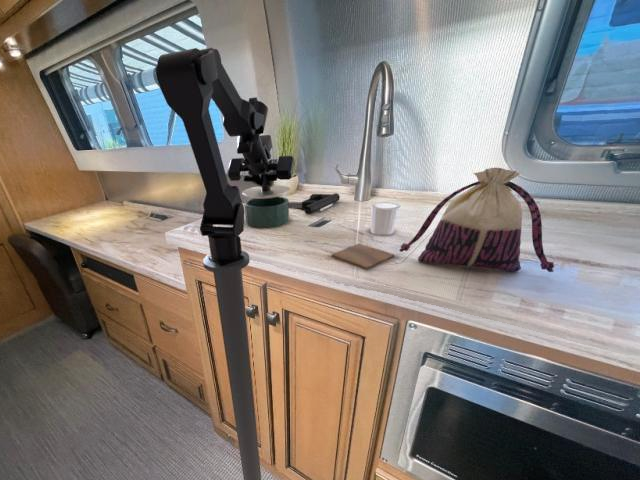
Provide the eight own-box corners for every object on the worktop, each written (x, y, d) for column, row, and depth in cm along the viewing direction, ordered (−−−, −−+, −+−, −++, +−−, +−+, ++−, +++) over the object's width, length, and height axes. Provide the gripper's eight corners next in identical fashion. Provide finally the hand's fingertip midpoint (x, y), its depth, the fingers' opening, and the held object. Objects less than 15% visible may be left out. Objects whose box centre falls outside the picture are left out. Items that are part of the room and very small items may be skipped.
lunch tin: (263, 231, 91) (262, 210, 88) (238, 222, 102) (236, 202, 98) (297, 220, 97) (297, 200, 94) (270, 213, 107) (270, 194, 104)
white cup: (394, 227, 85) (399, 201, 81) (396, 236, 79) (401, 209, 76) (368, 227, 87) (371, 201, 83) (368, 235, 81) (371, 208, 78)
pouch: (396, 267, 65) (414, 170, 55) (398, 252, 71) (415, 162, 61) (553, 284, 54) (610, 168, 44) (540, 265, 60) (588, 159, 50)
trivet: (366, 269, 65) (366, 267, 65) (331, 256, 72) (331, 254, 72) (394, 256, 69) (394, 254, 69) (358, 245, 76) (359, 243, 76)
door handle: (274, 204, 108) (314, 206, 98) (305, 191, 120) (344, 192, 110) (274, 213, 110) (314, 216, 99) (305, 200, 122) (343, 202, 111)
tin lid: (261, 202, 86) (260, 179, 83) (233, 195, 97) (231, 175, 94) (300, 192, 93) (300, 170, 90) (270, 187, 104) (269, 167, 100)
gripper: (293, 121, 79) (301, 161, 93) (226, 127, 86) (244, 164, 100) (285, 159, 77) (295, 194, 91) (218, 162, 83) (237, 194, 98)
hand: (267, 185), depth 95 cm, fingers closed on tin lid, 3 cm apart
